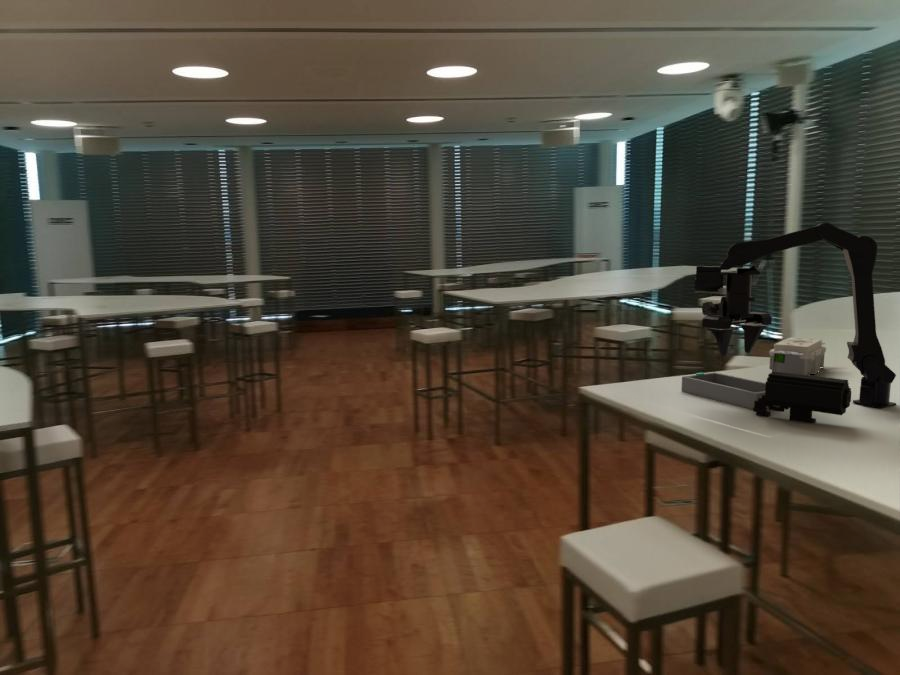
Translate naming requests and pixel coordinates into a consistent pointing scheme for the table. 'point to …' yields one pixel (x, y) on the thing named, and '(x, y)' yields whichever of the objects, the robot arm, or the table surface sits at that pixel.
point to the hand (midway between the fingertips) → (735, 354)
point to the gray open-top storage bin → (724, 388)
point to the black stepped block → (803, 396)
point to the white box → (797, 356)
